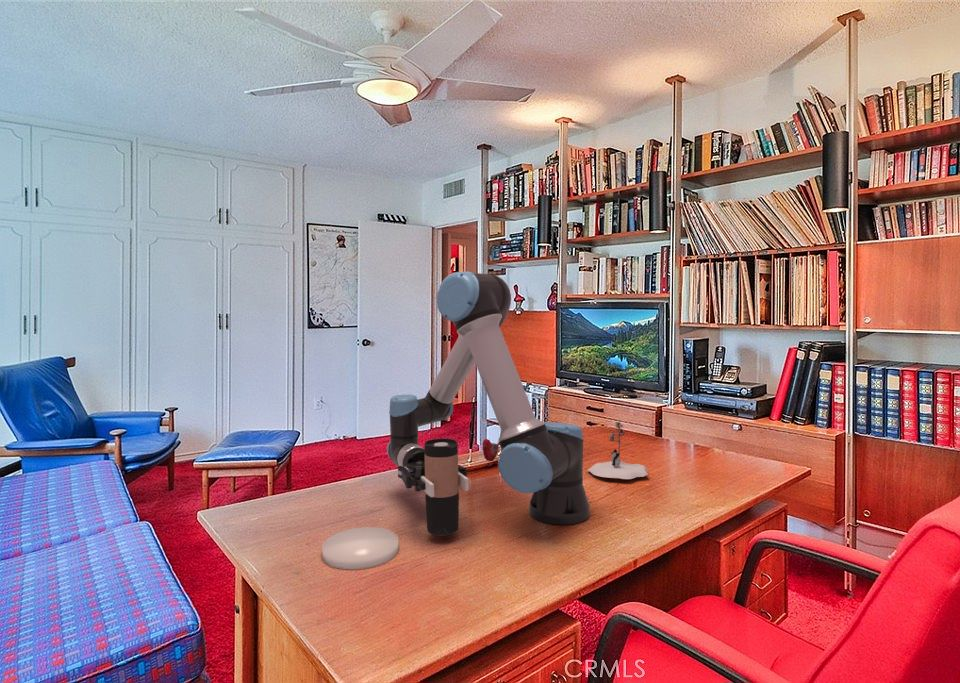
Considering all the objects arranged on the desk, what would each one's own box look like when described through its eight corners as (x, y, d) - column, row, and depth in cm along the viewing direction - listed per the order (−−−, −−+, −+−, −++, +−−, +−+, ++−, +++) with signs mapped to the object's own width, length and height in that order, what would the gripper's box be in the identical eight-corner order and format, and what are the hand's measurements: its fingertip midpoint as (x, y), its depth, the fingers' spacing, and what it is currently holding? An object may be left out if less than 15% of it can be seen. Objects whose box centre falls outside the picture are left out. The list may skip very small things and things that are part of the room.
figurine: (641, 485, 152) (642, 428, 153) (580, 476, 161) (581, 423, 162) (656, 473, 170) (656, 422, 170) (600, 466, 179) (601, 417, 179)
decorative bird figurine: (479, 471, 170) (478, 440, 169) (497, 456, 186) (497, 428, 185) (487, 472, 169) (487, 441, 168) (505, 457, 185) (505, 429, 184)
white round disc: (413, 544, 117) (413, 535, 117) (364, 576, 103) (363, 566, 103) (358, 530, 125) (358, 522, 125) (305, 558, 111) (305, 549, 111)
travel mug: (426, 523, 124) (424, 438, 123) (458, 521, 124) (457, 437, 123) (425, 537, 116) (423, 447, 115) (460, 535, 117) (458, 445, 116)
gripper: (453, 470, 140) (492, 496, 120) (377, 482, 132) (405, 513, 111) (452, 442, 140) (491, 464, 119) (376, 452, 131) (404, 477, 111)
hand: (450, 487), depth 115 cm, fingers closed on travel mug, 7 cm apart
